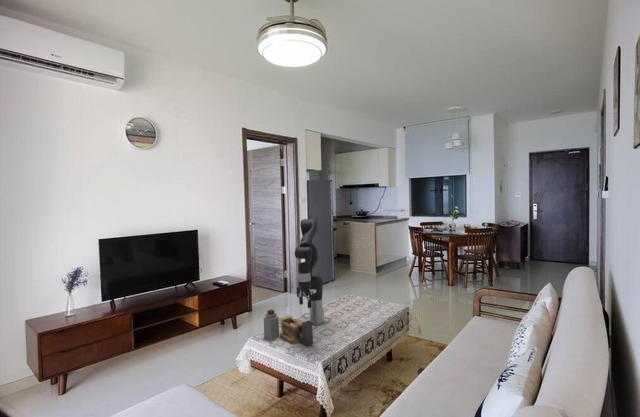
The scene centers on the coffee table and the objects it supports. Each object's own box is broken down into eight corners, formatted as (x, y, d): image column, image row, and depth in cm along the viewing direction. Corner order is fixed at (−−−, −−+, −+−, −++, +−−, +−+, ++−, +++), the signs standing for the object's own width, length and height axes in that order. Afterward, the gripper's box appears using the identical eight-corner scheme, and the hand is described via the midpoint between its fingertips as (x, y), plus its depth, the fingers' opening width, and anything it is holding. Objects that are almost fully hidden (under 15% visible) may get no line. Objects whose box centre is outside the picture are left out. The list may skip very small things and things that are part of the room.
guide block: (297, 331, 236) (296, 316, 236) (309, 337, 226) (309, 322, 225) (279, 337, 228) (279, 321, 227) (291, 344, 217) (291, 328, 216)
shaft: (287, 330, 237) (286, 310, 237) (313, 343, 216) (312, 322, 215) (281, 332, 234) (280, 312, 233) (306, 346, 213) (305, 324, 212)
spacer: (289, 321, 238) (289, 315, 237) (292, 322, 235) (292, 316, 234) (279, 324, 233) (279, 318, 232) (282, 325, 230) (282, 319, 229)
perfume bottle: (272, 334, 232) (271, 307, 231) (279, 337, 228) (278, 310, 227) (264, 338, 227) (263, 310, 226) (271, 340, 223) (270, 313, 222)
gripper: (316, 280, 210) (317, 307, 211) (302, 276, 221) (303, 301, 222) (306, 283, 206) (307, 310, 207) (292, 278, 217) (293, 304, 218)
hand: (305, 306), depth 214 cm, fingers open, 8 cm apart
